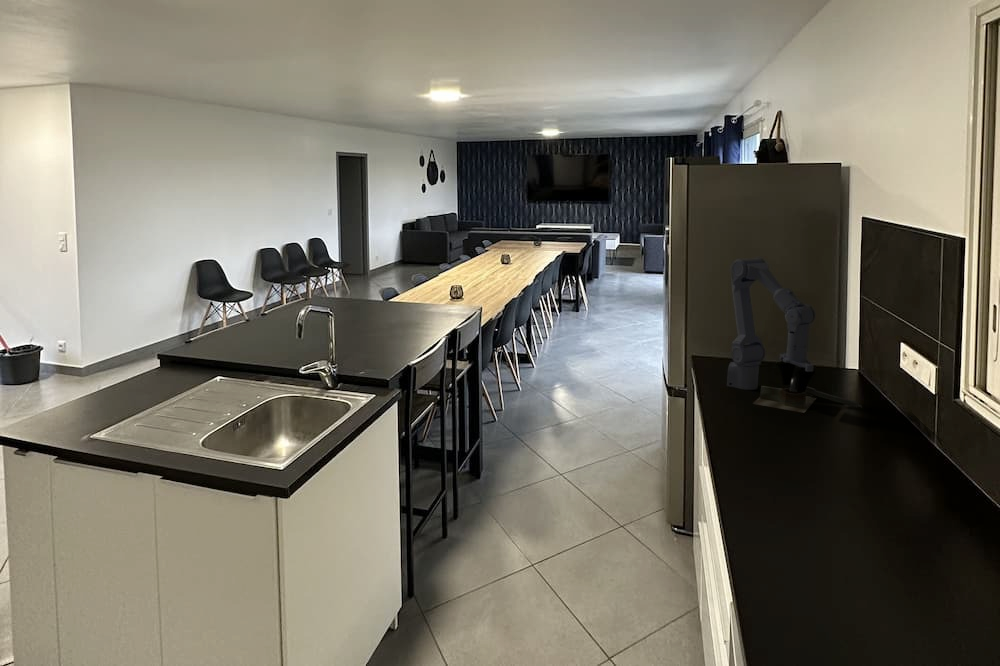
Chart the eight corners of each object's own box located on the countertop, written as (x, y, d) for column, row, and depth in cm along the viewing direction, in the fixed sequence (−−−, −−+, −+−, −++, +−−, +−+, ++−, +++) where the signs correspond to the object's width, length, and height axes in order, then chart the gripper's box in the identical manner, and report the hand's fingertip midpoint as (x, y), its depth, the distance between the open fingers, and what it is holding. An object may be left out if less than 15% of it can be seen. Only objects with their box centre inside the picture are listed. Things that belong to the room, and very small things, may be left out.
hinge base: (752, 406, 201) (753, 391, 200) (767, 392, 215) (768, 378, 213) (804, 415, 192) (805, 399, 191) (816, 401, 206) (817, 385, 205)
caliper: (789, 399, 207) (790, 380, 205) (789, 398, 208) (791, 379, 206) (862, 408, 197) (864, 388, 196) (862, 407, 198) (864, 387, 197)
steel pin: (784, 401, 202) (789, 377, 200) (793, 401, 202) (798, 377, 200) (790, 404, 199) (794, 380, 197) (799, 404, 199) (803, 380, 197)
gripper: (772, 340, 203) (768, 382, 206) (799, 351, 189) (795, 395, 192) (792, 339, 204) (789, 380, 207) (821, 350, 190) (817, 394, 193)
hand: (793, 388), depth 200 cm, fingers open, 7 cm apart
